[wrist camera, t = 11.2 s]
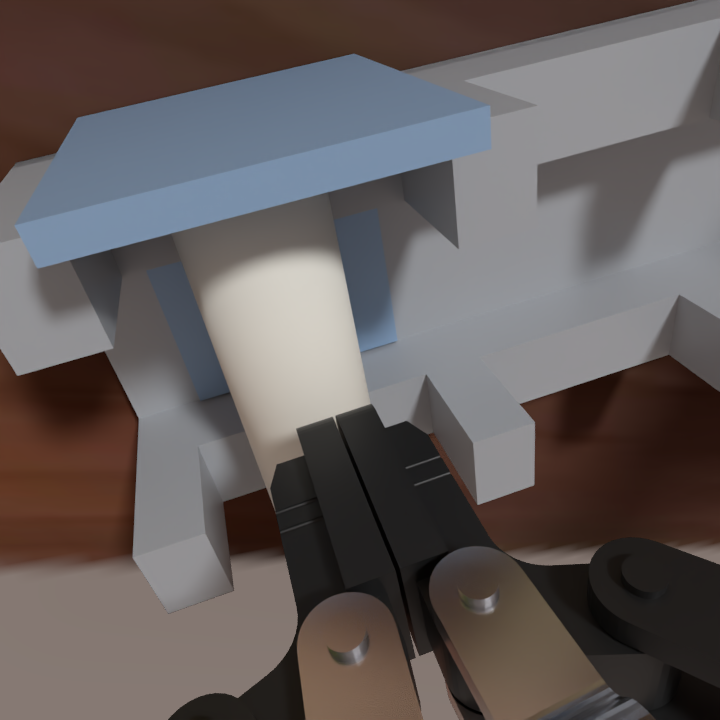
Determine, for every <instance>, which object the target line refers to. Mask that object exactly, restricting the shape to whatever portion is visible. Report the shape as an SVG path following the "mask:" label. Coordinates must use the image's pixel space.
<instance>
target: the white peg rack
mask: <svg viewBox="0 0 720 720" xmlns="http://www.w3.org/2000/svg"><path fill="white" fill-rule="evenodd" d="M327 192H328V194H329V199H330V204H331V209H332V214H333V219H334V224H335V229H336V234H337V239H338V244H339V249H340V254H341V259H342V264H343V269H344V274H345V279H346V284H347V289H348V294H349V299H350V304H351V309H352V314H353V319H354V324H355V329H356V334H357V339H358V344H359V349H360V354H361V359H362V364H363V369H364V374H365V379H366V383H367V388H368V393H369V398H370V403H371V404H372V405H373V406H374V408H375V409H376V411H377V413H378V415H379V417H380V419H381V421H382V423H383V425H384V427H385V428H386V427H389V426H392V425H395V424H398V423H401V422H404V421H408V422H410V423H411V424H413V425H414V426H416V427H417V428H419V429H420V430H422V431H423V432H425V433H426V434H430V433H433V432H434V434H435V436H436V437H437V439H438V441H439V442H440V444H441V445H442V447H443V449H444V450H445V452H446V454H447V455H448V457H449V459H450V460H451V462H452V464H453V465H454V467H455V469H456V470H457V472H458V473H459V475H460V477H461V478H462V480H463V482H464V483H465V485H466V487H467V488H468V490H469V492H470V493H471V495H472V497H473V498H474V500H475V501H476V503H477V505H479V504H482V503H485V502H488V501H490V500H493V499H496V498H499V497H502V496H505V495H507V494H510V493H513V492H516V491H519V490H522V489H524V488H527V487H530V486H533V485H534V456H535V422H534V421H533V420H532V418H531V417H530V416H529V415H528V414H527V413H526V411H525V410H524V409H523V408H522V407H521V406H520V404H521V403H524V402H527V401H530V400H533V399H536V398H539V397H542V396H545V395H548V394H551V393H554V392H557V391H560V390H563V389H566V388H569V387H572V386H575V385H578V384H581V383H584V382H587V381H590V380H594V379H597V378H600V377H603V376H606V375H609V374H612V373H615V372H618V371H621V370H624V369H627V368H630V367H633V366H636V365H639V364H642V363H645V362H648V361H651V360H654V359H657V358H660V357H663V356H666V355H670V356H672V357H673V358H674V359H676V360H677V361H678V362H680V363H681V364H682V365H684V366H685V367H686V368H688V369H689V370H691V371H692V372H693V373H695V374H696V375H697V376H699V377H700V378H701V379H703V380H704V381H706V382H707V383H708V384H710V385H711V386H712V387H714V388H715V389H716V390H718V391H719V392H720V0H697V1H693V2H689V3H685V4H681V5H676V6H672V7H668V8H664V9H660V10H655V11H651V12H647V13H643V14H639V15H634V16H630V17H626V18H622V19H618V20H613V21H609V22H605V23H601V24H597V25H592V26H588V27H584V28H580V29H576V30H571V31H567V32H563V33H559V34H555V35H550V36H546V37H542V38H538V39H534V40H530V41H525V42H521V43H517V44H513V45H509V46H504V47H500V48H496V49H492V50H488V51H483V52H479V53H475V54H471V55H467V56H462V57H458V58H454V59H450V60H446V61H441V62H437V63H433V64H429V65H425V66H420V67H416V68H412V69H408V70H404V71H398V70H396V69H393V68H390V67H388V66H385V65H383V64H380V63H377V62H375V61H372V60H369V59H367V58H364V57H361V56H359V55H356V54H351V55H347V56H342V57H338V58H334V59H329V60H325V61H321V62H317V63H312V64H308V65H304V66H299V67H295V68H291V69H286V70H282V71H278V72H273V73H269V74H265V75H260V76H256V77H252V78H247V79H243V80H239V81H234V82H230V83H226V84H221V85H217V86H213V87H209V88H204V89H200V90H196V91H191V92H187V93H183V94H178V95H174V96H170V97H165V98H161V99H157V100H152V101H148V102H144V103H139V104H135V105H131V106H126V107H122V108H118V109H113V110H109V111H105V112H100V113H96V114H92V115H88V116H83V117H79V118H77V120H76V121H75V123H74V125H73V126H72V128H71V130H70V131H69V133H68V135H67V137H66V138H65V140H64V142H63V143H62V145H61V147H60V148H59V150H58V152H57V153H56V154H51V155H47V156H43V157H39V158H35V159H30V160H26V161H22V162H18V163H16V164H15V165H14V166H13V168H12V169H11V170H10V172H9V173H8V174H7V175H6V177H5V178H4V179H3V181H2V182H1V183H0V349H1V350H2V352H3V354H4V355H5V357H6V358H7V360H8V361H9V363H10V365H11V366H12V368H13V369H14V371H15V373H16V374H17V376H19V375H23V374H26V373H30V372H33V371H37V370H40V369H44V368H47V367H51V366H54V365H58V364H61V363H65V362H68V361H71V360H75V359H78V358H82V357H85V356H89V355H92V354H96V353H99V352H103V351H105V353H106V355H107V357H108V359H109V361H110V363H111V365H112V367H113V369H114V370H115V372H116V374H117V376H118V378H119V380H120V382H121V384H122V386H123V388H124V390H125V392H126V394H127V396H128V398H129V400H130V402H131V404H132V406H133V408H134V410H135V412H136V414H137V416H138V418H139V429H138V451H137V473H136V495H135V517H134V539H133V559H134V561H135V562H136V564H137V565H138V567H139V568H140V570H141V572H142V573H143V575H144V576H145V578H146V580H147V581H148V583H149V584H150V586H151V587H152V589H153V590H154V592H155V594H156V595H157V597H158V598H159V600H160V602H161V603H162V604H163V606H164V608H165V610H166V611H167V613H168V614H169V613H172V612H175V611H178V610H181V609H184V608H187V607H189V606H192V605H195V604H198V603H201V602H203V601H206V600H209V599H212V598H215V597H217V596H221V595H223V594H226V593H229V592H232V591H234V588H233V579H232V571H231V563H230V555H229V546H228V538H227V530H226V522H225V514H224V506H223V502H224V501H227V500H230V499H233V498H236V497H239V496H242V495H245V494H248V493H251V492H254V491H257V490H260V489H263V488H266V486H265V483H264V480H263V478H262V475H261V472H260V470H259V467H258V464H257V462H256V459H255V456H254V454H253V451H252V448H251V446H250V443H249V440H248V438H247V435H246V432H245V430H244V427H243V424H242V422H241V419H240V416H239V414H238V411H237V408H236V406H235V403H234V400H233V398H232V395H231V392H230V390H229V387H228V384H227V382H226V379H225V376H224V374H223V371H222V368H221V366H220V363H219V360H218V358H217V355H216V353H215V350H214V347H213V345H212V342H211V339H210V337H209V334H208V331H207V329H206V326H205V323H204V321H203V318H202V315H201V313H200V310H199V307H198V305H197V302H196V299H195V297H194V294H193V291H192V289H191V286H190V283H189V281H188V278H187V275H186V273H185V270H184V267H183V265H182V262H181V259H180V257H179V254H178V251H177V249H176V246H175V243H174V241H173V238H172V235H171V233H175V232H179V231H183V230H186V229H190V228H194V227H198V226H202V225H205V224H209V223H213V222H217V221H220V220H224V219H228V218H232V217H236V216H239V215H243V214H247V213H251V212H255V211H258V210H262V209H266V208H270V207H274V206H277V205H281V204H285V203H289V202H293V201H296V200H300V199H304V198H308V197H312V196H315V195H319V194H323V193H327Z"/></svg>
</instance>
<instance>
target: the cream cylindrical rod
mask: <svg viewBox="0 0 720 720" xmlns="http://www.w3.org/2000/svg"><path fill="white" fill-rule="evenodd" d="M171 235H172V238H173V241H174V243H175V246H176V249H177V251H178V254H179V257H180V259H181V262H182V265H183V267H184V270H185V273H186V275H187V278H188V281H189V283H190V286H191V289H192V291H193V294H194V297H195V299H196V302H197V305H198V307H199V310H200V313H201V315H202V318H203V321H204V323H205V326H206V329H207V331H208V334H209V337H210V339H211V342H212V345H213V347H214V350H215V353H216V355H217V358H218V360H219V363H220V366H221V368H222V371H223V374H224V376H225V379H226V382H227V384H228V387H229V390H230V392H231V395H232V398H233V400H234V403H235V406H236V408H237V411H238V414H239V416H240V419H241V422H242V424H243V427H244V430H245V432H246V435H247V438H248V440H249V443H250V446H251V448H252V451H253V454H254V456H255V459H256V462H257V464H258V467H259V470H260V472H261V475H262V478H263V480H264V483H265V486H266V488H267V491H268V494H269V496H270V499H271V502H272V504H273V507H274V503H273V499H272V494H271V490H270V487H271V483H272V480H273V476H274V472H275V469H276V465H277V464H280V463H283V462H286V461H289V460H292V459H295V458H298V457H301V456H303V455H304V453H303V450H302V447H301V443H300V440H299V437H298V434H297V431H296V428H299V427H302V426H305V425H309V424H312V423H315V422H318V421H321V420H324V419H327V418H330V417H333V419H334V421H335V423H336V418H335V415H338V414H342V413H345V412H348V411H351V410H354V409H357V408H360V407H363V406H366V405H369V404H371V403H370V398H369V393H368V388H367V383H366V379H365V374H364V369H363V364H362V359H361V354H360V349H359V344H358V339H357V334H356V329H355V324H354V319H353V314H352V309H351V304H350V299H349V294H348V289H347V284H346V279H345V274H344V269H343V264H342V259H341V254H340V249H339V244H338V239H337V234H336V229H335V224H334V219H333V214H332V209H331V204H330V199H329V194H328V192H327V193H323V194H319V195H315V196H312V197H308V198H304V199H300V200H296V201H293V202H289V203H285V204H281V205H277V206H274V207H270V208H266V209H262V210H258V211H255V212H251V213H247V214H243V215H239V216H236V217H232V218H228V219H224V220H220V221H217V222H213V223H209V224H205V225H202V226H198V227H194V228H190V229H186V230H183V231H179V232H175V233H171ZM336 426H337V423H336ZM337 428H338V426H337ZM274 510H275V508H274Z"/></svg>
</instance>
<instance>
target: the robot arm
mask: <svg viewBox="0 0 720 720" xmlns="http://www.w3.org/2000/svg"><path fill="white" fill-rule="evenodd" d="M335 418H336V423H337V426H338V428H337V426H336V423H335V421H334V419H333V417H330V418H327V419H324V420H321V421H318V422H315V423H312V424H309V425H305V426H302V427H299V428H296V431H297V434H298V437H299V440H300V443H301V447H302V450H303V453H304V455H303V456H301V457H298V458H295V459H292V460H289V461H286V462H283V463H280V464H277V465H276V469H275V472H274V476H273V480H272V483H271V487H270V490H271V494H272V499H273V503H274V508H275V512H276V515H277V516H276V517H277V521H278V526H279V530H280V533H281V539H282V544H283V548H284V552H285V557H286V561H287V566H288V570H289V575H290V579H291V584H292V588H293V593H294V597H295V602H296V606H297V613H298V625H297V630H296V634H295V637H294V640H293V643H292V645H291V647H290V649H289V651H288V652H287V654H286V656H285V657H284V658H283V660H282V661H281V662H280V663H279V664H278V665H277V667H276V668H275V669H274V670H273V671H271V672H270V673H269V674H268V675H267V676H265V677H264V678H263V679H262V680H261V681H259V682H258V683H257V684H255V685H254V686H253V687H251V688H250V689H249V690H248V691H246V692H245V693H244V694H243V695H242V696H240V697H239V698H236V697H234V696H232V695H227V694H221V693H220V694H219V693H214V694H208V695H204V696H201V697H198V698H196V699H194V700H192V701H190V702H188V703H187V704H185V705H184V706H182V707H181V708H180V709H178V710H177V711H176V712H175V713H174V714H173V715H172V716H171V717H170V718H169V719H168V720H423V717H422V714H421V706H420V700H419V696H418V692H417V687H416V683H415V679H414V675H413V671H412V667H411V663H410V660H411V659H414V658H415V653H414V649H413V644H412V640H411V636H410V632H411V635H412V638H413V641H414V643H415V646H416V648H417V651H418V653H419V656H420V655H423V654H426V653H428V652H431V651H433V652H434V654H435V656H436V659H437V661H438V664H439V666H440V668H441V671H442V673H443V676H444V678H445V683H446V688H447V692H448V697H449V700H450V702H451V704H452V706H453V708H454V710H455V712H456V714H457V716H458V718H459V720H720V565H719V564H716V563H714V562H711V561H708V560H705V559H703V558H700V557H697V556H694V555H692V554H689V553H686V552H683V551H681V550H678V549H675V548H672V547H670V546H667V545H664V544H661V543H659V542H655V541H652V540H649V539H643V538H631V537H629V538H620V539H617V540H613V541H611V542H608V543H606V544H605V545H603V546H602V547H600V548H599V549H598V550H597V551H596V553H595V554H594V556H593V557H592V559H591V562H590V564H573V565H553V566H544V565H535V564H530V563H526V562H522V561H520V560H517V559H515V558H513V557H511V556H509V555H508V554H506V553H505V552H503V551H502V550H501V549H499V548H498V547H497V546H496V545H495V544H494V543H493V541H492V540H491V539H490V537H489V536H488V534H487V532H486V531H485V529H484V527H483V526H482V524H481V522H480V521H479V519H478V517H477V516H476V514H475V512H474V511H473V509H472V507H471V506H470V504H469V502H468V501H467V499H466V497H465V496H464V494H463V493H462V491H461V489H460V488H459V486H458V484H457V483H456V481H455V479H454V478H453V476H452V475H451V474H450V472H449V469H448V468H447V466H446V464H445V463H444V461H443V459H442V458H440V454H439V453H438V451H437V449H436V448H435V446H434V444H433V443H432V441H431V439H430V438H429V436H428V434H426V433H425V432H423V431H422V430H420V429H419V428H417V427H416V426H414V425H413V424H411V423H410V422H408V421H404V422H401V423H398V424H395V425H392V426H389V427H386V428H385V427H384V425H383V423H382V421H381V419H380V417H379V415H378V413H377V411H376V409H375V408H374V406H373V405H372V404H369V405H366V406H363V407H360V408H357V409H354V410H351V411H348V412H345V413H342V414H338V415H335Z"/></svg>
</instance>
